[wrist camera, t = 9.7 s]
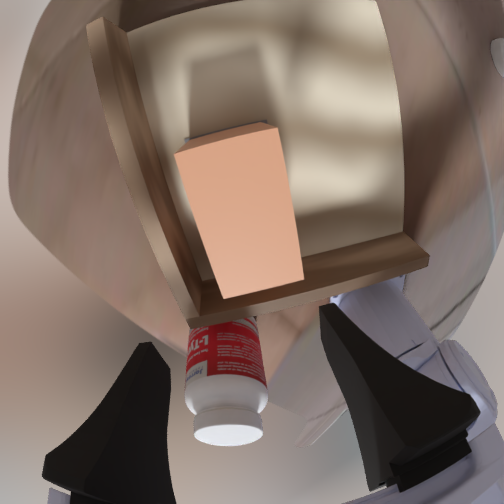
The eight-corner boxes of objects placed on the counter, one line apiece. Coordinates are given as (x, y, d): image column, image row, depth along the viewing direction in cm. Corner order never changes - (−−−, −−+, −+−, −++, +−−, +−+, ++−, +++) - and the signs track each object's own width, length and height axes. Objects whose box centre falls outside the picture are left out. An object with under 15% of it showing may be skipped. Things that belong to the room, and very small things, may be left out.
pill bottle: (199, 293, 22) (193, 413, 13) (267, 309, 24) (290, 421, 14) (183, 339, 25) (176, 444, 15) (242, 352, 27) (253, 451, 17)
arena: (397, 237, 22) (427, 266, 17) (195, 287, 22) (190, 329, 18) (370, 3, 11) (406, -14, 7) (117, 41, 12) (85, 25, 8)
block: (189, 140, 15) (173, 154, 11) (260, 122, 15) (277, 127, 10) (222, 249, 19) (223, 299, 15) (284, 234, 19) (304, 279, 15)
